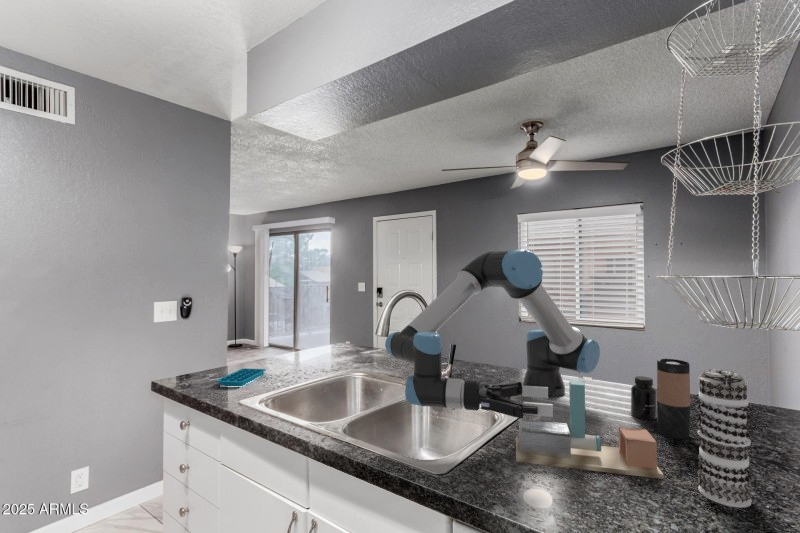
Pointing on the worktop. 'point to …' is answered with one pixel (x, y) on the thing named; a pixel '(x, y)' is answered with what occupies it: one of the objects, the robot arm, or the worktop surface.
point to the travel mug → (673, 398)
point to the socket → (637, 447)
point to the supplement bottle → (644, 399)
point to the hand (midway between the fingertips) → (550, 401)
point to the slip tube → (580, 420)
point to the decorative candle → (724, 438)
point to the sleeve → (544, 438)
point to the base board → (591, 461)
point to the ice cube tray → (240, 377)
